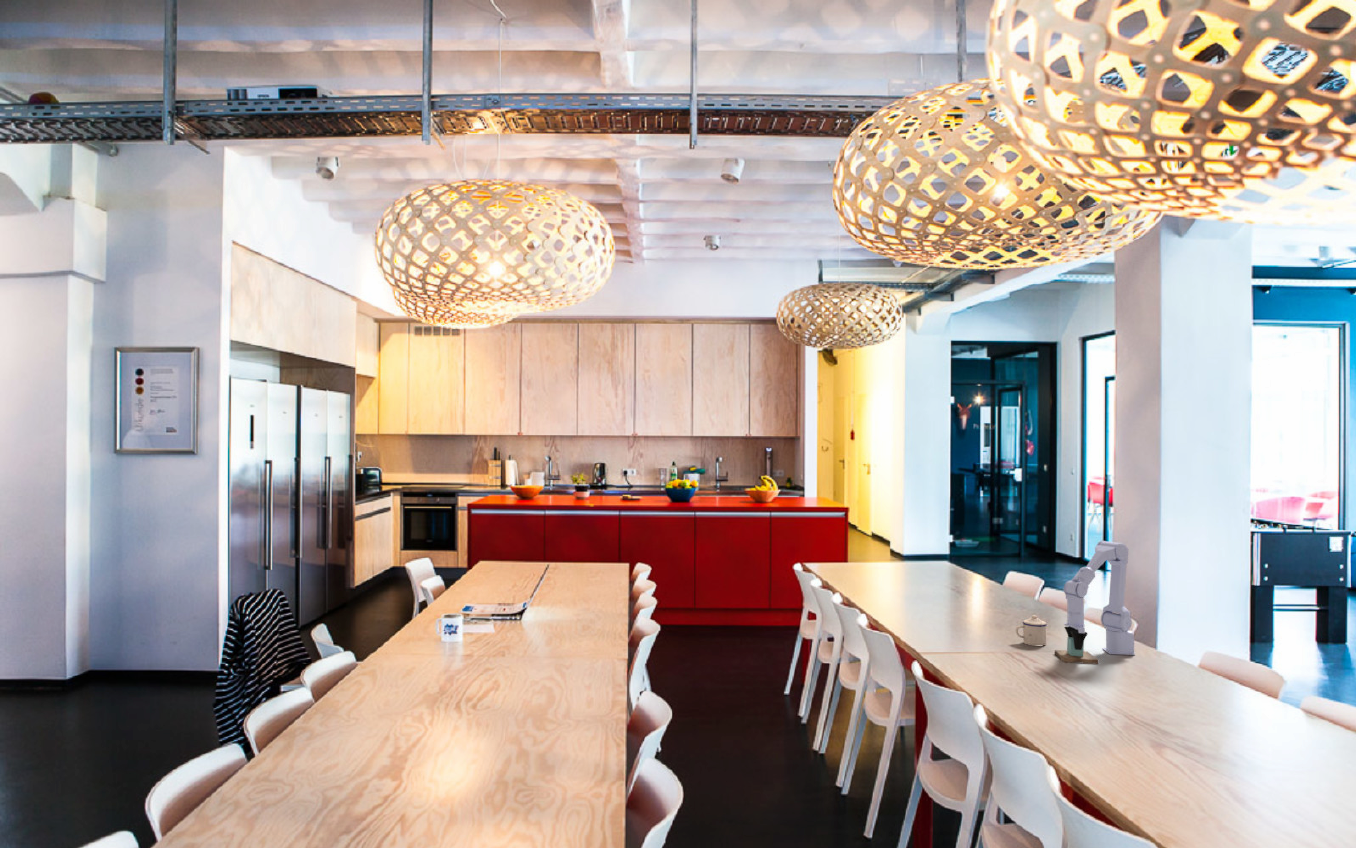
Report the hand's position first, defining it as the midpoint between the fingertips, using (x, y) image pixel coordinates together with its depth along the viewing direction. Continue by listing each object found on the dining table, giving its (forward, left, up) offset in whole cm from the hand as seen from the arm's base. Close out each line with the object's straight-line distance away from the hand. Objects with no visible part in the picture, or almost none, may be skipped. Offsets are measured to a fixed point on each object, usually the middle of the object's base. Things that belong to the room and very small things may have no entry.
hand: (1075, 647), depth 303 cm
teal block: (0, 0, -3) cm, 3 cm away
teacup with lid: (+11, -21, -4) cm, 24 cm away
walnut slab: (0, 0, -4) cm, 4 cm away
